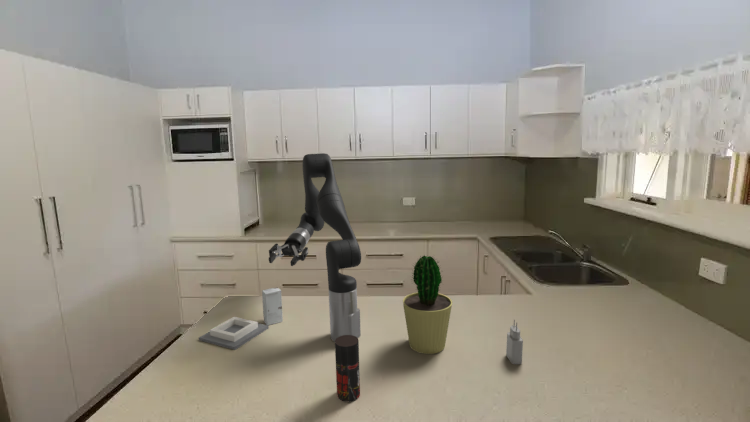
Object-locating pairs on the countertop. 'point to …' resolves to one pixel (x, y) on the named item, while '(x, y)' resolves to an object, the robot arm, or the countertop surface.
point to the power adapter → (514, 345)
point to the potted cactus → (427, 309)
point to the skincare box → (272, 306)
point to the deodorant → (347, 368)
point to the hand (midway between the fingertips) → (280, 262)
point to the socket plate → (233, 333)
